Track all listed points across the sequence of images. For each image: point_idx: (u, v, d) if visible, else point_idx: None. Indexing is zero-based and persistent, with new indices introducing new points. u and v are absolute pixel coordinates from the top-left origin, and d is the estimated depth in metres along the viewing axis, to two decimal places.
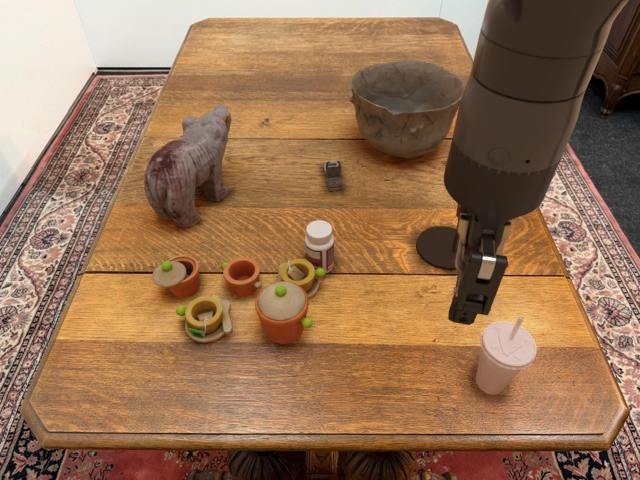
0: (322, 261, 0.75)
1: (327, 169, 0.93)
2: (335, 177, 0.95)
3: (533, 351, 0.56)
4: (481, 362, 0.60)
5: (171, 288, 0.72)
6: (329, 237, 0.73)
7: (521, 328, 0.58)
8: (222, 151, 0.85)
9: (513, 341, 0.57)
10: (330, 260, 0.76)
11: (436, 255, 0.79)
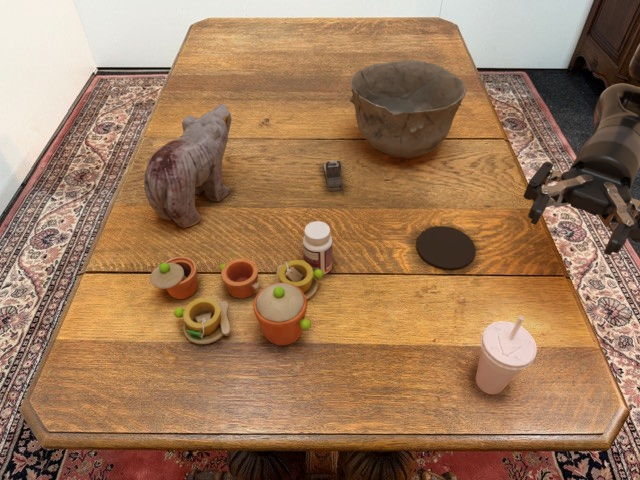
0: (320, 262, 0.75)
1: (327, 169, 0.93)
2: (335, 177, 0.95)
3: (533, 351, 0.56)
4: (481, 362, 0.60)
5: (169, 290, 0.72)
6: (327, 238, 0.72)
7: (521, 328, 0.58)
8: (222, 151, 0.85)
9: (513, 341, 0.57)
10: (329, 261, 0.76)
11: (436, 255, 0.79)
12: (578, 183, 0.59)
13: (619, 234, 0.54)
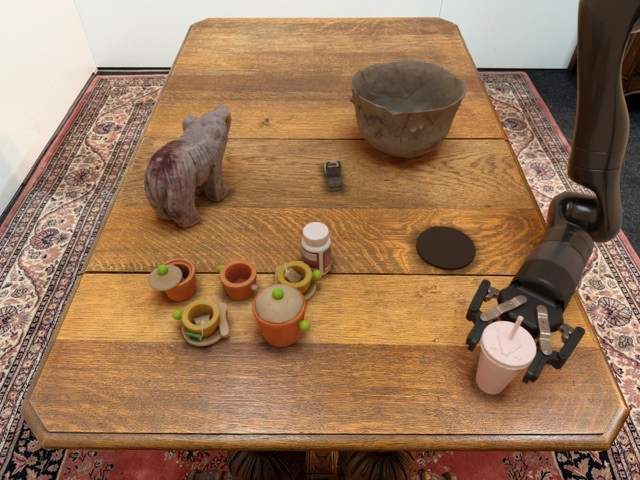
0: (318, 263, 0.75)
1: (327, 169, 0.93)
2: (335, 177, 0.95)
3: (533, 351, 0.56)
4: (481, 362, 0.60)
5: (167, 292, 0.72)
6: (326, 239, 0.72)
7: (521, 328, 0.58)
8: (222, 151, 0.85)
9: (513, 341, 0.57)
10: (327, 262, 0.76)
11: (436, 255, 0.79)
12: (514, 306, 0.61)
13: (535, 365, 0.55)
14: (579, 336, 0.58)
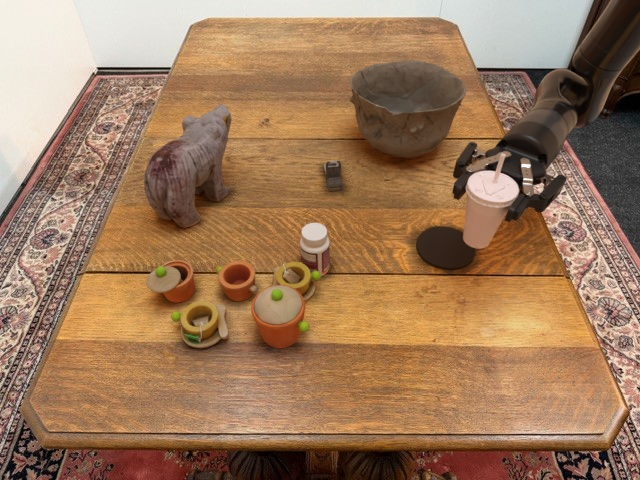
0: (317, 264, 0.75)
1: (327, 169, 0.93)
2: (335, 177, 0.95)
3: (515, 191, 0.59)
4: (467, 211, 0.62)
5: (166, 293, 0.72)
6: (324, 239, 0.72)
7: (504, 175, 0.61)
8: (222, 151, 0.85)
9: (496, 184, 0.59)
10: (326, 263, 0.76)
11: (436, 255, 0.79)
12: (498, 159, 0.63)
13: (517, 203, 0.58)
14: (560, 181, 0.60)
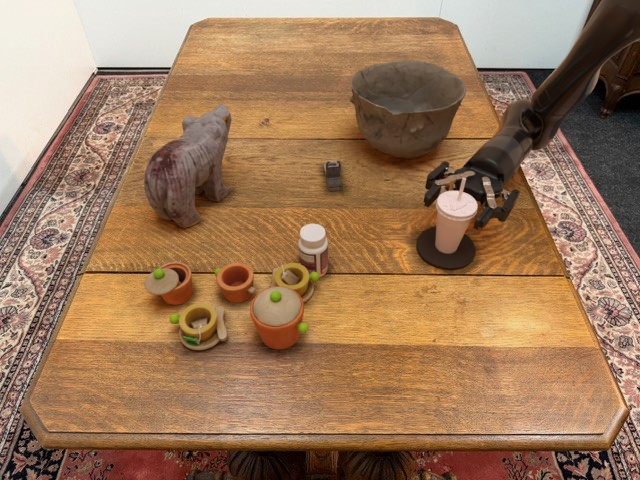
0: (316, 265, 0.74)
1: (327, 169, 0.93)
2: (335, 177, 0.95)
3: (474, 208, 0.73)
4: (437, 223, 0.77)
5: (164, 296, 0.71)
6: (323, 240, 0.72)
7: (467, 194, 0.76)
8: (222, 151, 0.85)
9: (460, 202, 0.74)
10: (324, 264, 0.76)
11: (436, 255, 0.79)
12: (463, 177, 0.78)
13: (483, 214, 0.72)
14: (515, 195, 0.75)
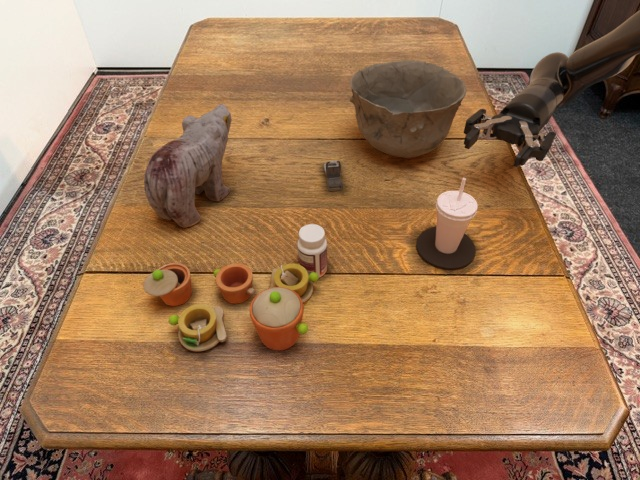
0: (315, 265, 0.74)
1: (327, 169, 0.93)
2: (335, 177, 0.95)
3: (474, 208, 0.73)
4: (437, 223, 0.77)
5: (163, 297, 0.71)
6: (322, 241, 0.72)
7: (467, 194, 0.76)
8: (222, 151, 0.85)
9: (460, 202, 0.74)
10: (324, 264, 0.75)
11: (436, 255, 0.79)
12: (501, 121, 0.81)
13: (523, 152, 0.76)
14: (552, 136, 0.79)
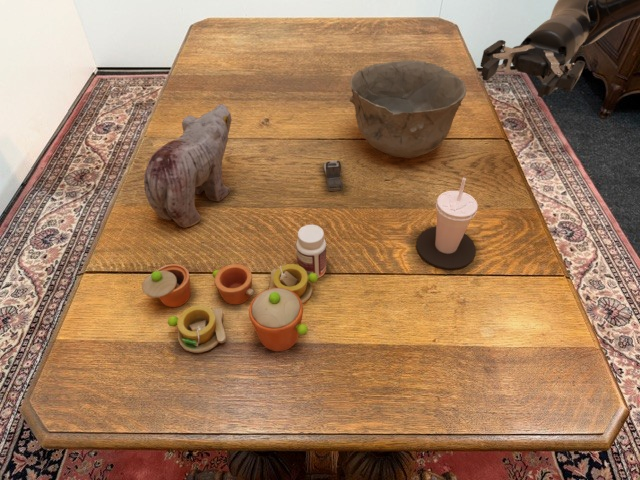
0: (314, 266, 0.74)
1: (327, 169, 0.93)
2: (335, 177, 0.95)
3: (474, 208, 0.73)
4: (437, 223, 0.77)
5: (162, 298, 0.71)
6: (321, 241, 0.72)
7: (467, 194, 0.76)
8: (222, 151, 0.85)
9: (460, 202, 0.74)
10: (323, 265, 0.75)
11: (436, 255, 0.79)
12: (523, 50, 0.73)
13: (549, 79, 0.67)
14: (581, 65, 0.70)
